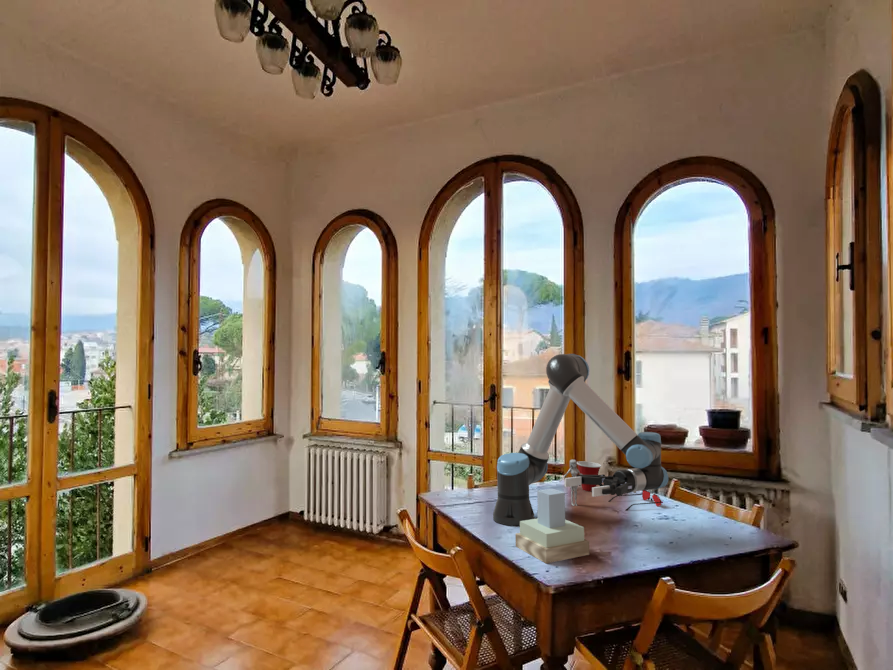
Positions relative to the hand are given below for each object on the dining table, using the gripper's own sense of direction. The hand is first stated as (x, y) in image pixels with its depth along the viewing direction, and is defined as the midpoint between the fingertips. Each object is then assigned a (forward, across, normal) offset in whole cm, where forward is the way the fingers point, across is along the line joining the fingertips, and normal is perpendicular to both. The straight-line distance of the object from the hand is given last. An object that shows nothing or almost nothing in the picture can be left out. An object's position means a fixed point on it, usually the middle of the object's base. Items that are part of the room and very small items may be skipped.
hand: (578, 487), depth 174 cm
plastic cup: (-50, +54, -18) cm, 76 cm away
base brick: (+11, -1, -18) cm, 21 cm away
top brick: (+11, -1, -14) cm, 18 cm away
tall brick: (+11, -1, -10) cm, 15 cm away
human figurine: (-28, +38, -18) cm, 51 cm away
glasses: (-50, +26, -19) cm, 60 cm away
